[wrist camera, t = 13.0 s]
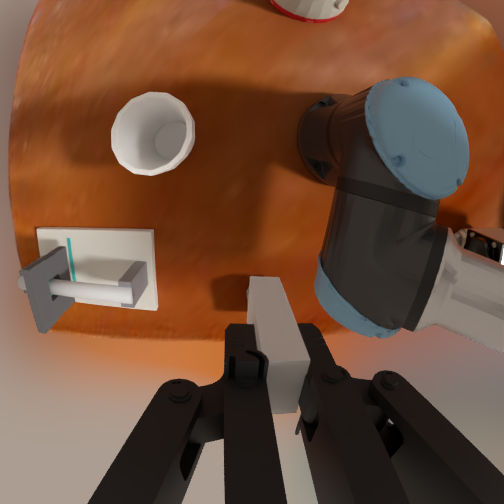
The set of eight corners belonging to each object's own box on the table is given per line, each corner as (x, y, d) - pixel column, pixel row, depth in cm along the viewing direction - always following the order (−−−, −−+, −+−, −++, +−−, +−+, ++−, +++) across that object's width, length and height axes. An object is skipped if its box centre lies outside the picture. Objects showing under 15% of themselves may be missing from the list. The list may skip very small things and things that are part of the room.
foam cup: (178, 99, 36) (156, 75, 24) (217, 141, 39) (210, 132, 27) (133, 141, 38) (96, 136, 25) (171, 183, 40) (145, 193, 28)
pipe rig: (40, 227, 40) (5, 244, 30) (153, 229, 42) (131, 250, 32) (52, 294, 45) (24, 320, 34) (158, 306, 47) (142, 342, 36)
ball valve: (434, 261, 48) (491, 298, 31) (439, 220, 45) (503, 248, 28) (482, 254, 49) (533, 282, 32) (487, 220, 46) (542, 242, 29)
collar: (59, 246, 37) (21, 269, 27) (65, 246, 37) (28, 270, 27) (68, 300, 40) (38, 332, 30) (75, 301, 41) (45, 333, 30)
